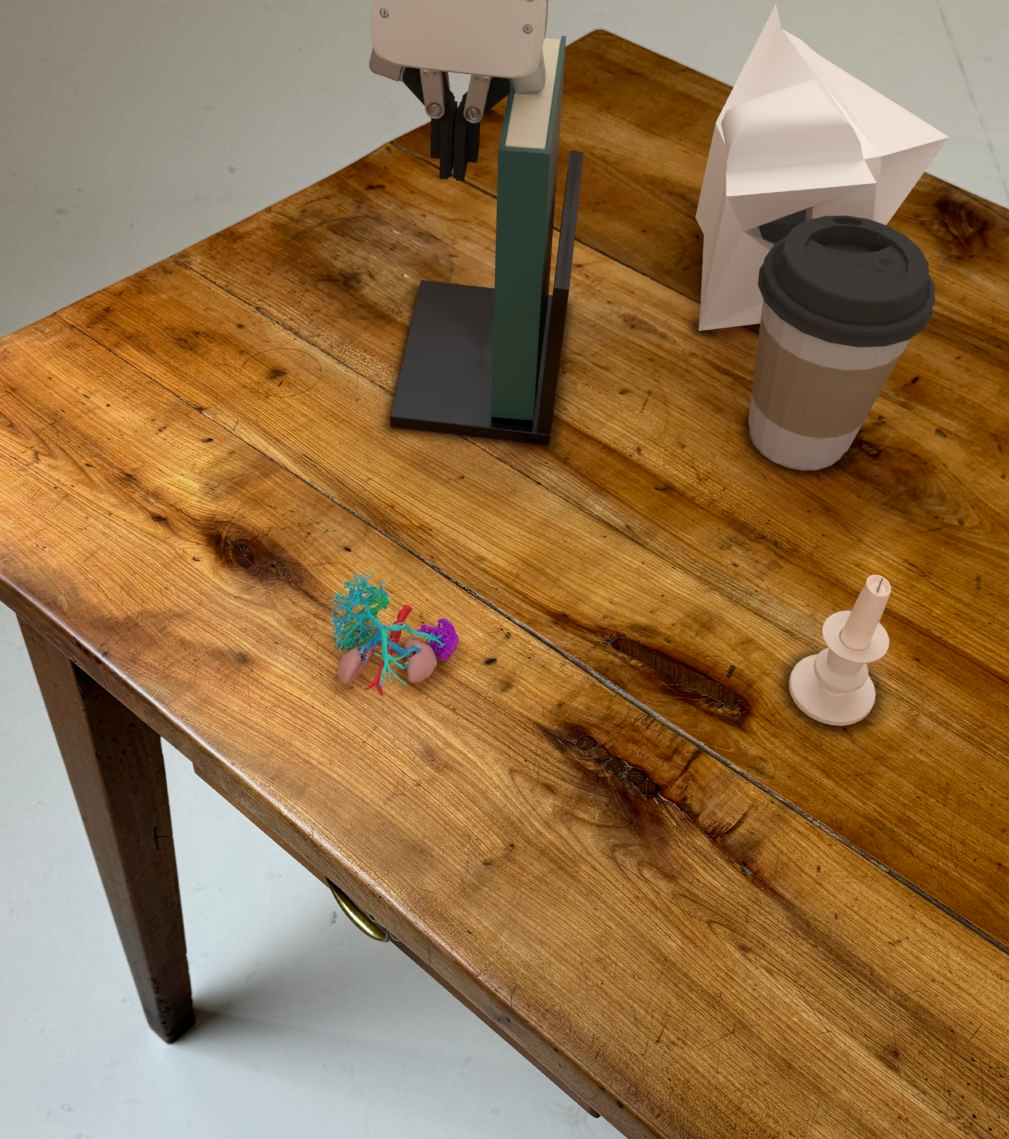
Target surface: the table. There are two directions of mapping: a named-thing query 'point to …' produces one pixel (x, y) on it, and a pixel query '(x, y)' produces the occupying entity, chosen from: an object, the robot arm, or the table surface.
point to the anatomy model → (386, 637)
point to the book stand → (479, 350)
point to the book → (525, 237)
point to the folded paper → (796, 165)
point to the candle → (844, 661)
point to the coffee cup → (831, 334)
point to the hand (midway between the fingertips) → (454, 168)
